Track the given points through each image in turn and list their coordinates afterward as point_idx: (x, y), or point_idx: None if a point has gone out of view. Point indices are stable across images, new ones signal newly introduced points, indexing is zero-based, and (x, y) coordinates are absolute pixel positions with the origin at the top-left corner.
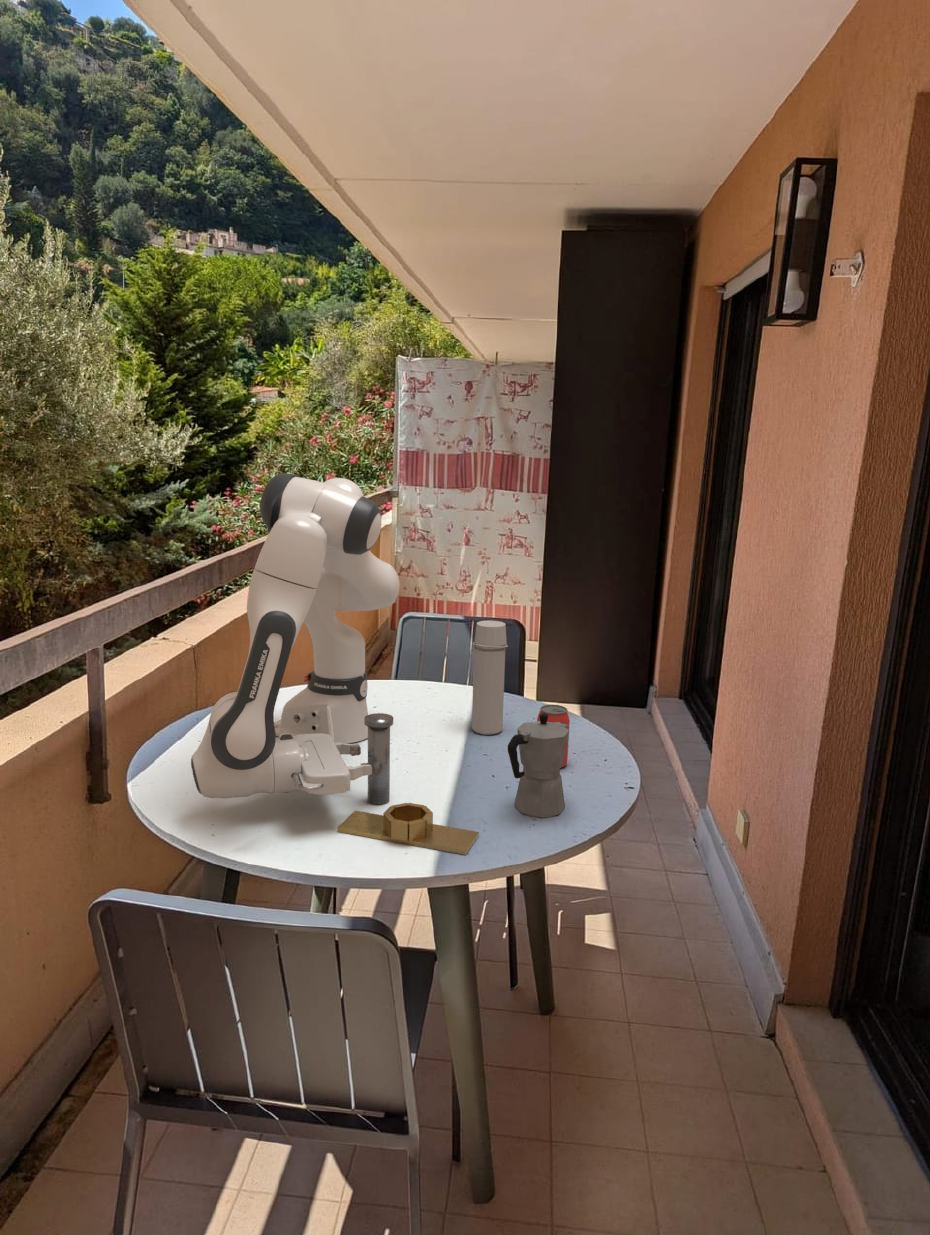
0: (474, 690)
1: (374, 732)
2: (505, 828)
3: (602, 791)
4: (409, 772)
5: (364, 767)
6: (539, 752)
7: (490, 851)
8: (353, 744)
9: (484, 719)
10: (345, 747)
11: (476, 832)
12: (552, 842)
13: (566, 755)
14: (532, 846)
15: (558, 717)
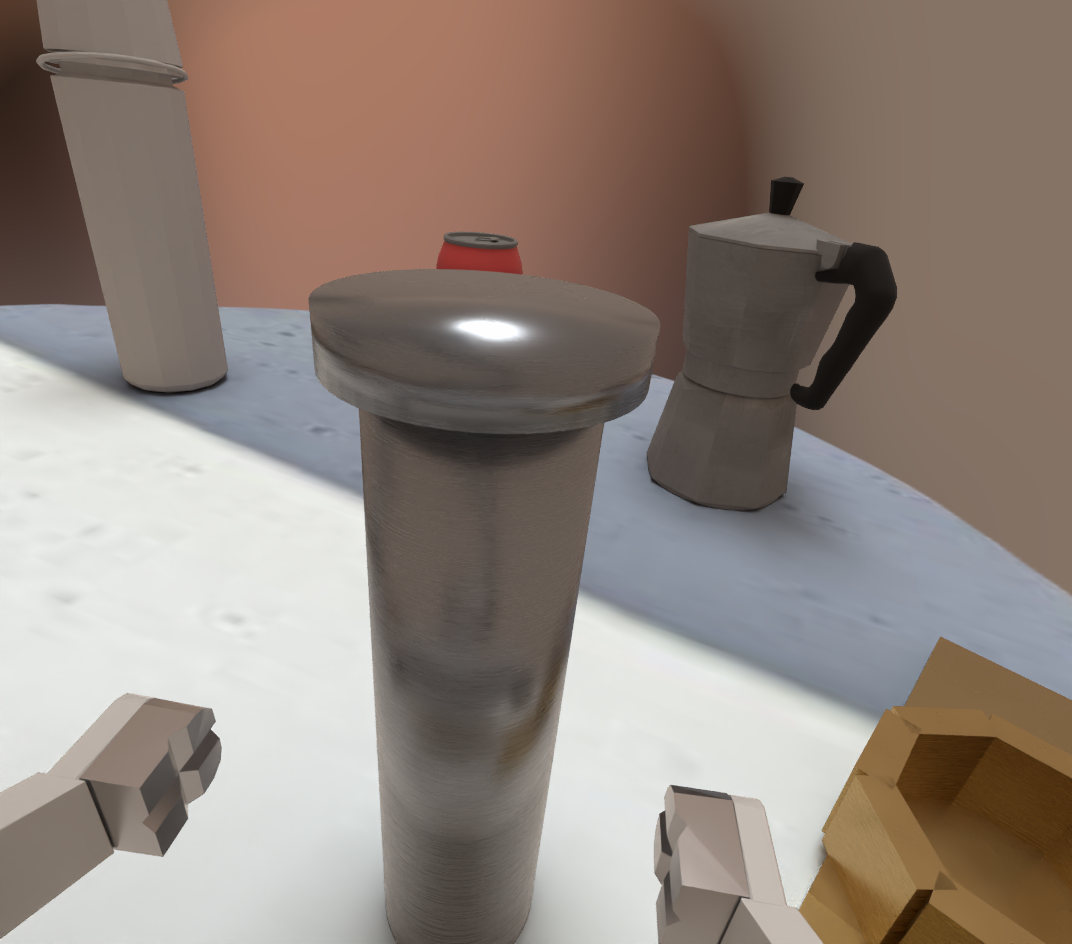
0: (121, 251)
1: (573, 471)
2: (855, 572)
3: (652, 395)
4: (246, 614)
5: (777, 883)
6: (832, 304)
7: (1059, 668)
8: (97, 740)
9: (192, 341)
10: (15, 851)
11: (947, 644)
12: (940, 531)
13: None
14: (979, 569)
15: (517, 254)
